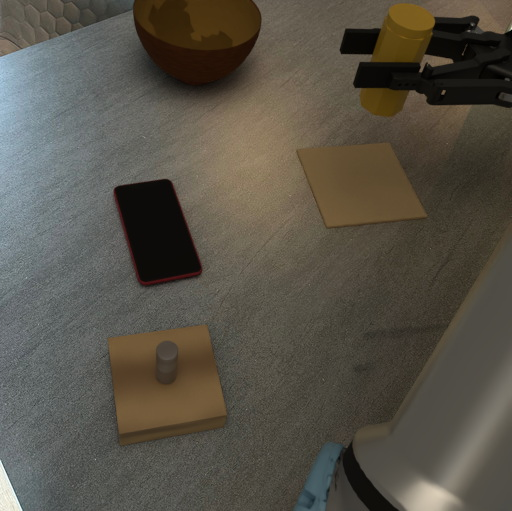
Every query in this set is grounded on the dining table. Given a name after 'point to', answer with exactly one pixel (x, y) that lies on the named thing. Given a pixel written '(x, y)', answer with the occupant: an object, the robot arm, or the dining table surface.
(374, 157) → the mat
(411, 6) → the jar
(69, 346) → the dining table surface
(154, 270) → the smartphone
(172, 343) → the stand
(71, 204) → the dining table surface
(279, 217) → the dining table surface
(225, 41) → the bowl
